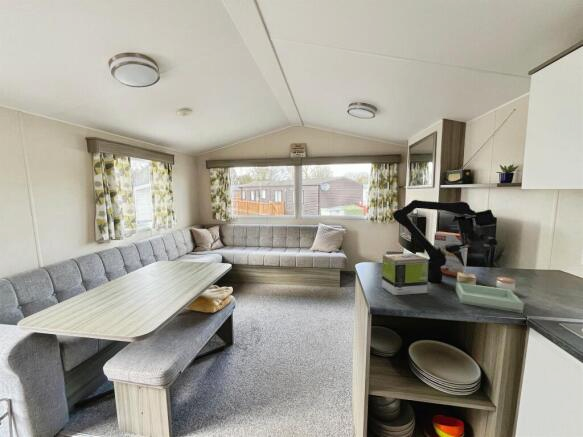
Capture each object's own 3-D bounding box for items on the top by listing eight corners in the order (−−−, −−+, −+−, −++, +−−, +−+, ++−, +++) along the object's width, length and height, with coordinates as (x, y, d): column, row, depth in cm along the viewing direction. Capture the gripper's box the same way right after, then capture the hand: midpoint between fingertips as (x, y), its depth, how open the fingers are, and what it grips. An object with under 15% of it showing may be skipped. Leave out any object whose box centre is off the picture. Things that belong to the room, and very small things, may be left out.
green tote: (461, 302, 96) (461, 294, 95) (455, 290, 108) (456, 282, 108) (522, 313, 88) (523, 303, 88) (509, 298, 101) (510, 289, 100)
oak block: (458, 286, 113) (459, 275, 112) (456, 282, 118) (457, 272, 118) (475, 289, 110) (476, 278, 110) (472, 284, 116) (473, 274, 115)
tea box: (411, 285, 114) (413, 252, 113) (427, 293, 104) (429, 258, 103) (380, 286, 112) (382, 253, 110) (393, 296, 102) (395, 259, 100)
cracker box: (431, 271, 135) (434, 232, 133) (435, 269, 139) (438, 231, 137) (462, 278, 125) (465, 235, 122) (465, 275, 129) (469, 234, 126)
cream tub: (498, 292, 107) (499, 280, 106) (494, 287, 112) (495, 276, 112) (516, 294, 104) (517, 282, 104) (511, 290, 110) (512, 278, 109)
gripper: (450, 235, 107) (459, 271, 106) (501, 225, 103) (510, 263, 102) (441, 233, 118) (449, 266, 117) (486, 224, 113) (495, 258, 113)
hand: (475, 264), depth 112 cm, fingers open, 9 cm apart
